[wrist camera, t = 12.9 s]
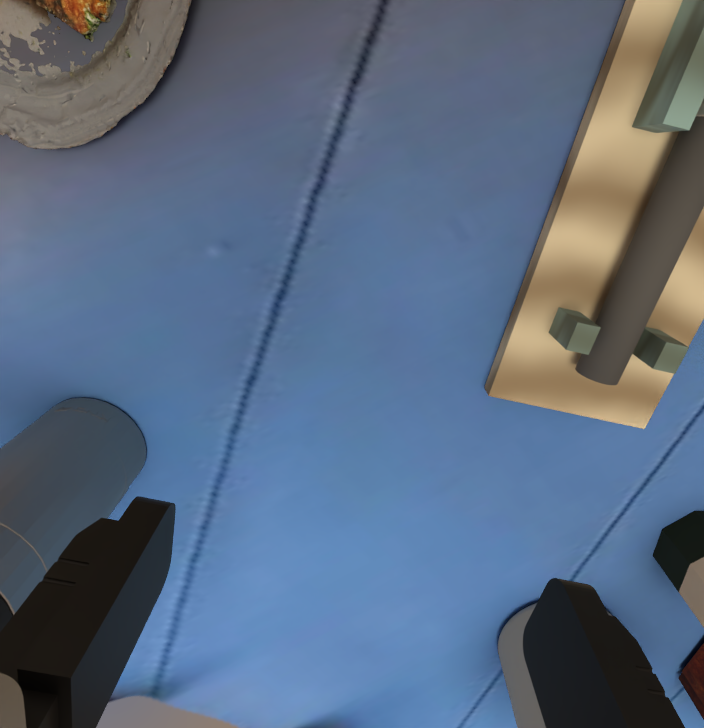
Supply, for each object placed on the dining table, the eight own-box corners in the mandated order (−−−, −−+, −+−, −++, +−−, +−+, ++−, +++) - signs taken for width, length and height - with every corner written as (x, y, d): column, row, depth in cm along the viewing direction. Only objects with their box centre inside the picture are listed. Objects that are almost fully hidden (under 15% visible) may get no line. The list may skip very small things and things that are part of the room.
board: (635, 419, 40) (669, 453, 35) (484, 387, 39) (499, 417, 35) (861, -16, 28) (957, -49, 24) (652, -73, 28) (708, -119, 23)
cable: (606, 371, 37) (625, 388, 34) (569, 363, 37) (585, 380, 34) (763, 36, 28) (806, 23, 25) (715, 24, 28) (753, 9, 25)
